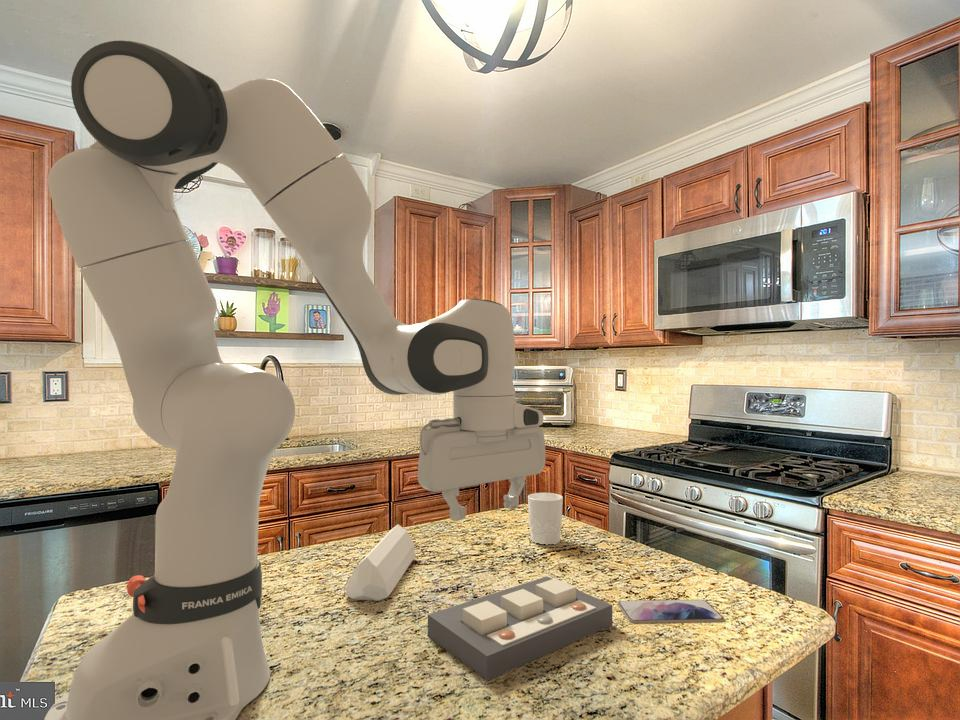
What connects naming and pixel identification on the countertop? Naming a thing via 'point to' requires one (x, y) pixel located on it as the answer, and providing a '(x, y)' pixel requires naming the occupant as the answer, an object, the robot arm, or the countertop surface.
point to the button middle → (522, 604)
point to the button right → (556, 592)
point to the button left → (484, 617)
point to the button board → (518, 631)
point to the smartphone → (669, 611)
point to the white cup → (545, 517)
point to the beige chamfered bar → (382, 567)
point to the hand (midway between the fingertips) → (485, 513)
